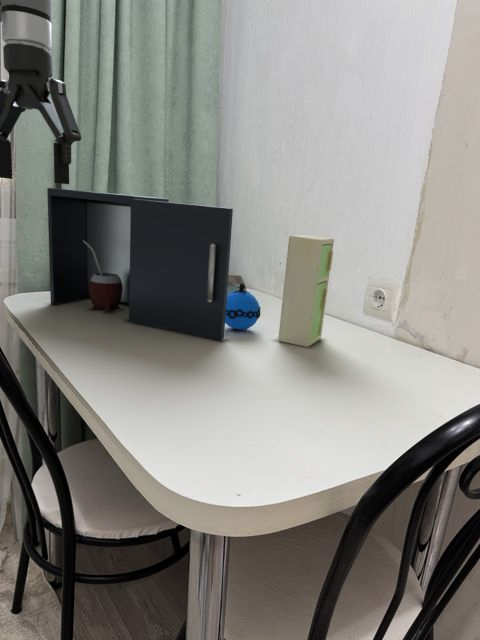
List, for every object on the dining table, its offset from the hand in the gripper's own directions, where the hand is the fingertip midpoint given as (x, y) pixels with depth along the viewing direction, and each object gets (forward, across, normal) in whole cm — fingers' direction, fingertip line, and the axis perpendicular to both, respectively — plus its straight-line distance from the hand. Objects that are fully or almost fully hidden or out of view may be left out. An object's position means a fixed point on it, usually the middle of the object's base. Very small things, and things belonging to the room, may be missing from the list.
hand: (32, 181), depth 91 cm
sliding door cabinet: (+27, -11, -19) cm, 35 cm away
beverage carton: (+27, -17, -48) cm, 58 cm away
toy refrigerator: (+27, -46, -25) cm, 59 cm away
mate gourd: (+27, 0, -19) cm, 33 cm away
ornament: (+27, -32, -24) cm, 48 cm away
